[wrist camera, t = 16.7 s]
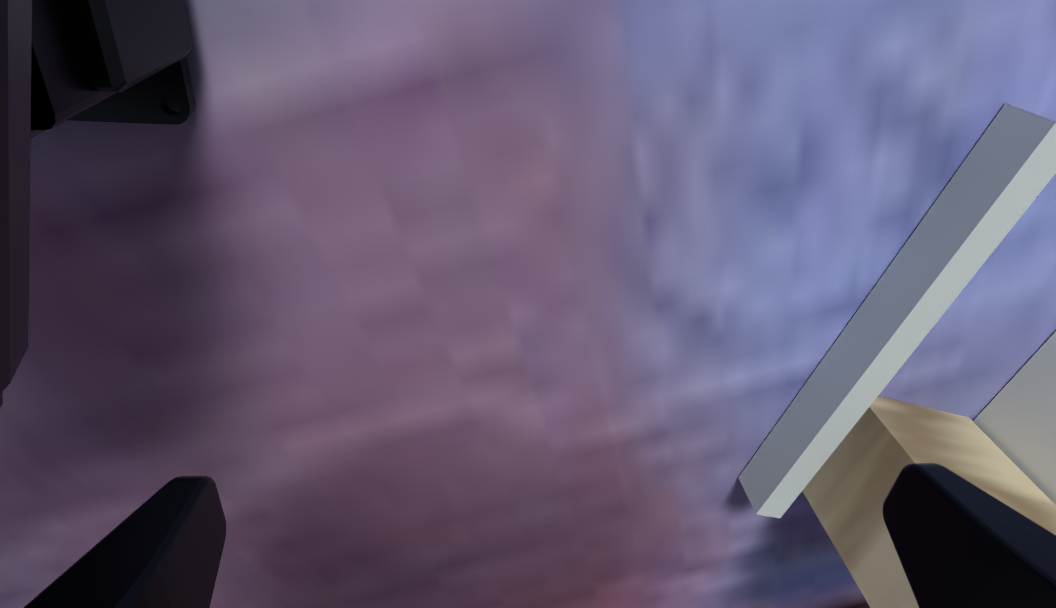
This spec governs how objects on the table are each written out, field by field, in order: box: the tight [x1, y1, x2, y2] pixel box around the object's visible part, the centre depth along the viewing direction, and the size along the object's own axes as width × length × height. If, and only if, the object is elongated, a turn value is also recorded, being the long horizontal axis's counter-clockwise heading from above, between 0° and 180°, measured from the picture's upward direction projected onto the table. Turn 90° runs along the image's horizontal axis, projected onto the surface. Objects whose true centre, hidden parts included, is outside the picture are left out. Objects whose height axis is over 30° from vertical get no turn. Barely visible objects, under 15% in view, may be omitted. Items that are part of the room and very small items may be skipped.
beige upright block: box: [802, 396, 1056, 608], centre depth 23 cm, size 6×5×11 cm
